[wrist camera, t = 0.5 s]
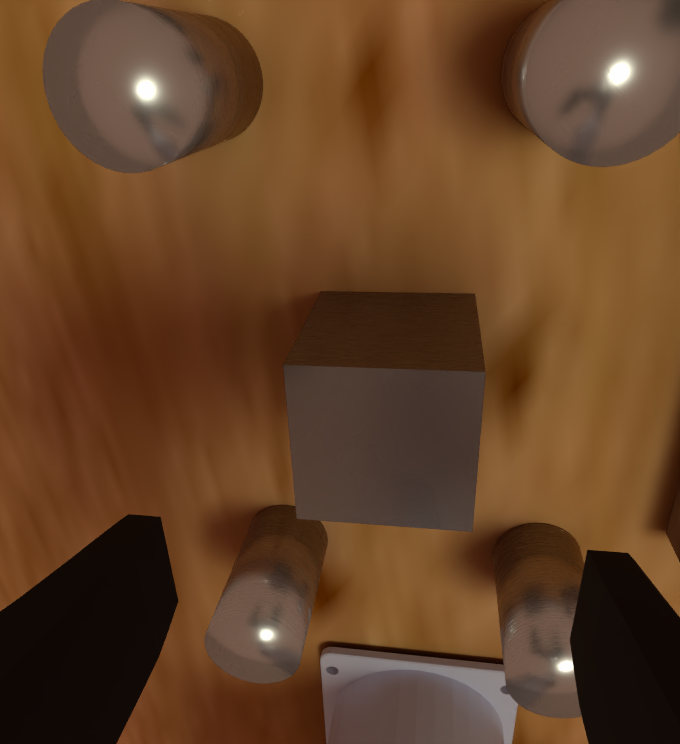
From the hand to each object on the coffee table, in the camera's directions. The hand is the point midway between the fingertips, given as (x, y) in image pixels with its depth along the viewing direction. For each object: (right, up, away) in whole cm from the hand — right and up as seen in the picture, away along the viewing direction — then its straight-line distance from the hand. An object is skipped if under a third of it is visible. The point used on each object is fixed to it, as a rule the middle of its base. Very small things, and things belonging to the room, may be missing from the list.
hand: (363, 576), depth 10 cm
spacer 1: (-4, +11, +5) cm, 13 cm away
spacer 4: (+5, +11, +4) cm, 13 cm away
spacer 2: (-2, -3, +12) cm, 13 cm away
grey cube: (+1, +4, +8) cm, 9 cm away
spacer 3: (+7, -3, +11) cm, 13 cm away
